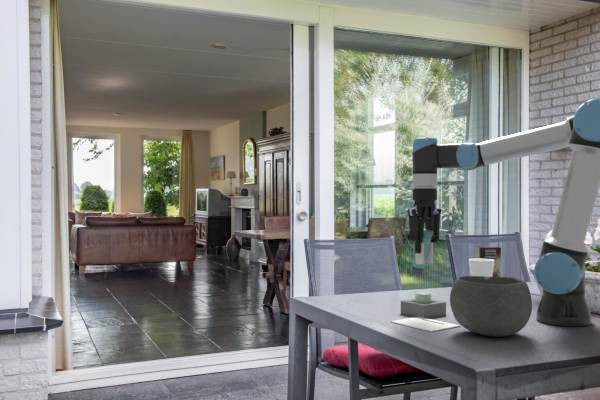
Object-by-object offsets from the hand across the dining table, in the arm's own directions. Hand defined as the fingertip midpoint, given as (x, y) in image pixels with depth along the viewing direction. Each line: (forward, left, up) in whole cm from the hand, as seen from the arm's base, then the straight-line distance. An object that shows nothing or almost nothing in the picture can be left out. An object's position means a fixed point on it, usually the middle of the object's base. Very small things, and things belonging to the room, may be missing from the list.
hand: (424, 263), depth 189 cm
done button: (+3, -3, -15) cm, 16 cm away
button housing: (+3, -3, -17) cm, 17 cm away
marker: (+3, 0, -3) cm, 4 cm away
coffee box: (+33, -74, -17) cm, 83 cm away
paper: (-8, +8, -17) cm, 20 cm away
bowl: (-27, +3, -17) cm, 32 cm away
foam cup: (+19, -52, -17) cm, 58 cm away
